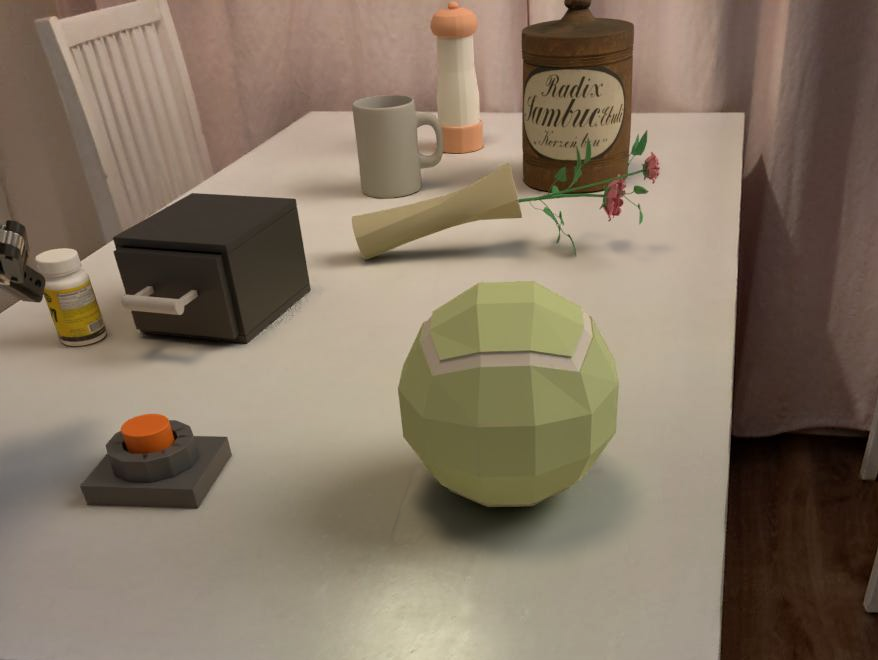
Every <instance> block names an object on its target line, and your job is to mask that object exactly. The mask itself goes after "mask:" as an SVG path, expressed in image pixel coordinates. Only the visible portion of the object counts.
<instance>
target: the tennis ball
mask: <svg viewBox="0 0 878 660" xmlns="http://www.w3.org/2000/svg"><path fill="white" fill-rule="evenodd" d="M398 382H399V383H398V386H397V393H398V394H397V395H398V401H399V402H398V403H399V412H400V419H401V420H400V421H401V428H402V437H403V439H404V440H405V441H406V442H407V443H408V445H409V446H410V448H411V449H412V450H413V452H414V453H415V454H416V455H417V457H418V458H419V459H420V460H421V462H422V463H423V464H424V465H425V466H426V468H427V470H428V471H429V472H430V473H431V475H432V476H433V477H434V478H435V479H436V481H437V482H438V483H439V484H440V485H441V486H443V487H445V488H447V489H448V491H450V492H452V493H453V494H456V495H459V496H461V497H463V498H466V499H468V500H470V501H472V502H475V503H477V504H479V505H482V506H484V507H487V508H496V507H497V508H501V507H502V508H504V507H505V508H506V507H507V508H508V507H533V506H535V505H537V504H539V503H542V502H544V501H546V500H549V499H550V498H552V497H554V496H557V495H559V494H561V493H564V492H565V491H568V490H569V489H571V488H572V487H573V486H574V485H575V484H577V483H578V482H579V481H580V480H581V479H582V478H584V477H585V475H587V473H588V472H590V470H591V469H592V468H593V466H594V464H595V463H596V462H597V460H598V458H599V457H600V455H601V454H602V453H603V452H604V450H605V448H606V447H607V446H608V444H609V443H610V442H611V440H612V439H613V437H614V436H615V434H616V433H617V420H618V404H619V388H620V386H619V385H620V382H619V377H618V370H617V363H616V359H615V356H614V355H613V353H612V352H611V350H610V347H609V346H608V344H607V342H606V340H605V339H604V337H603V335H602V333H601V331H600V330H599V328H598V326H597V324H596V321H595V320H594V318H593V317H592V316H590V315H588V314H587V313H586V312H584V311H583V306H581V305H579V304H577V303H576V302H573V301H572V300H570V299H568V298H566V297H565V296H562V295H560V294H559V293H557V292H555V291H553V290H551V289H549V288H548V287H546V286H544V285H542V284H540V283H538V282H536V280H523V281H522V280H521V281H520V280H519V281H518V280H517V281H491V282H490V281H489V282H478V283H476V284H474V285H473V286H471V287H470V288H467V289H466V290H465V291H463V292H462V293H460V294H458V295H457V296H455V297H453V298H452V299H450V300H448V301H447V302H445V303H444V304H442V305H441V306H439V307H437V308H436V309H434V310H433V311H432V312H431V316H430V317H429V318H428V319H427V320H425V321H422V324H421V326H420V328H419V330H418V332H417V335H416V336H415V339H414V341H413V343H412V346H411V348H410V350H409V352H408V355H407V356H406V359H405V360H404V362H403V364H402V369H401V374H400V378H399V381H398Z"/></svg>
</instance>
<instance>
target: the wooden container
mask: <svg viewBox="0 0 878 660" xmlns="http://www.w3.org/2000/svg"><path fill="white" fill-rule="evenodd" d="M591 4H592V0H563V5H564V6H565V8H567V10H566V11H565V13H564V14H563V16H562V17H561V18H560V19H555V20H548V21H543V22H542V21H541V22H537V23H534V24H530V25H527V26H525V27H523V28H522V29H521V59H522V107H521V108H522V110H521V111H522V114H521V116H522V117H521V120H522V121H521V122H522V123H521V125H522V126H521V132H522V133H521V136H522V137H521V138H522V139H521V142H522V143H521V144H522V145H521V147H522V148H521V149H522V179H523V182H524V183H525V184H526V185H527V186H529V187H531V188H534V189H536V190H540V191H544V192H549V193H552V187H551V185H552V184H553V183H554V182H555V181H556V180H557V179H556V178H555V176H556V174H557V173H558V171H559V170H560V169H562V168H563V167H565V166H566V172H565V173H566V181H559V180H557V181H556V182H555V183H554V184H553V185H552V186H556V187H557V188H558V190H559V192H560V191H565V190H569V189H573V188H578V187H582V186H586V185H591V184H595V183H598V182H602V181H606V180H609V179H613V178H616V177H617V175H620V176H623V175H626V174H629V170H628V171H627V168H628V169H629V167H628V162H630V156H629V155H630V148H631V147H630V146H631V132H632V107H633V106H632V105H633V103H632V102H633V101H632V100H633V70H634V68H633V67H634V66H633V65H634V43H635V25H634V23H632V22H630V21H627V20H623V19H617V18H607V17H595V15H594V14H593V13H592V11H591V10H590V8H591V7H590V6H591ZM588 138H589V141H590V144H591V158H590V161H589V162H587V163H586V164H584V160H585V156H586V146H587V139H588ZM576 146H577V147H578V150H579V153H580V157H581V166H582V165H583V164H584V165H583V166H582V167H581V168H580V170H581V172H582V173H581V176H580V177H579V178H578V180H577V182H576V181H575V179H574V166H575V167H577V150H576ZM628 157H629V159H628ZM573 179H574V181H575V182H576V184H575V182H574V181H573ZM621 179H622V178H621ZM621 179H620V182H621ZM627 179H628V177H624V178H623V182H624V183H625V182H626V180H627ZM572 182H573V183H574V184H573V183H572ZM611 182H612V181H611ZM611 182H609V183H611ZM571 183H572V184H573V185H572V184H571ZM609 183H608V182H607V183H604V184H600V185H596V186H592V187H588V188H584V189H579V190H575V191H570V192H566V193H565V194H585V193H591V192H599V191H603V190H604V186H606V187H608V184H609ZM570 185H572V186H571V187H570V188H568V187H569V186H570ZM550 187H551V189H550ZM567 188H568V189H567ZM549 189H550V191H549ZM604 191H605V190H604Z"/></svg>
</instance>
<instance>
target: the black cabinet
mask: <svg viewBox="0 0 878 660" xmlns="http://www.w3.org/2000/svg"><path fill="white" fill-rule="evenodd" d="M300 222H301V221H300V216H299V210H298V205H297V199H296V198H294V197H293V198H291V197H275V196H274V197H273V196H272V197H270V196H254V195H253V196H252V195H238V194H237V195H234V194H216V193H198V192H197V193H196V192H191V193H190V194H188V195H186V196H184V197H183V198H180V199H179V200H177V201H175V202H173V203H172V204H170V205H168V206H166V207H165V208H162V209H161V210H159V211H157V212H155V213H154V214H152V215H150V216H148V217H146V218H145V219H143V220H141V221H139V222H137V223H136V224H134V225H132V226H130V227H129V228H127V229H125V230H123V231H122V232H120V233H118V234H116V235H114V236H113V237H112V240H113V243H114V247H115V250H117V249H118V248H120V247H122V248H135V247H145V248H158V249H172V250H186V251H199V252H213V253H221V255H222V257H223V261H224V266H225V270H226V275H227V279H228V284H229V288H230V293H231V297H232V302H233V306H234V310H235V315H236V319H237V324H238V328H239V333H240V335H239V336H237V337H236V338H235V339H227V338H218V337H208V336H198V335H188V334H178V333H168V332H158V331H148V330H139V331H140V333H141V334H151V335H160V336H161V335H162V336H170V337H181V338H190V339H200V340H211V341H219V342H230V343H238V344H239V343H240V344H248V343H250V341H252V340H253V339H254V338H255V337H257V336H258V335H259V334H260V333H262V332H263V330H265V329H266V328H268V327H269V325H271V324H272V323H273V322H275V321H276V320H277V319H278V318H279V317H281V316H282V315H283V314H284V313H285V312H286V311H287V310H289V309H290V308H291V307H292V306H294V305H295V304H296V303H297V302H298V301H300V300H301V299H302V298H303V297H304V296H305V295H306V294H307V293H309V292H310V291H311V290H312V289H311V283H310V277H309V272H308V271H309V270H308V265H307V259H306V253H305V246H304V240H303V235H302V228H301V223H300Z"/></svg>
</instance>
